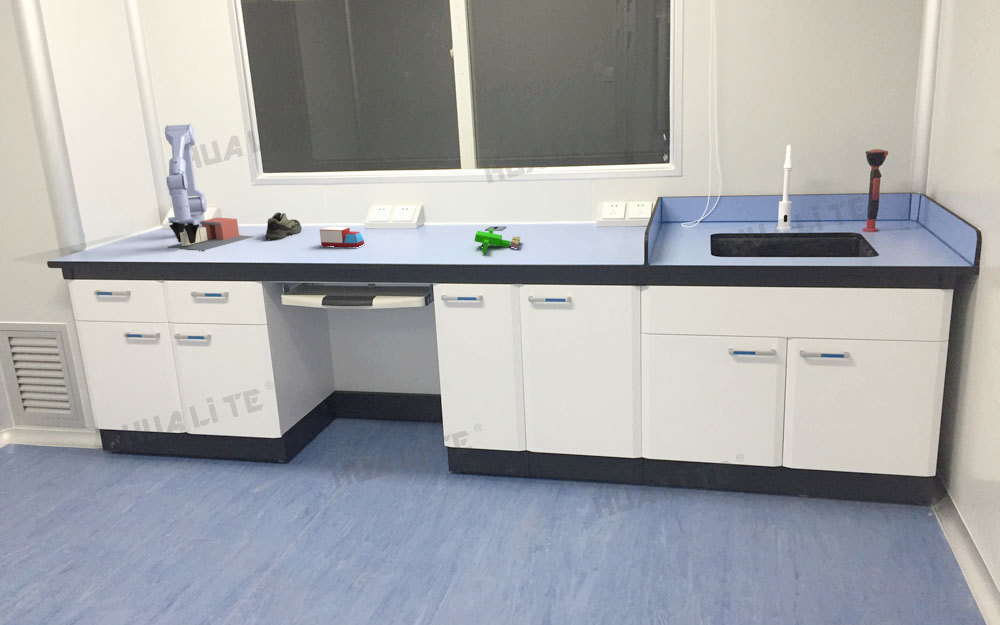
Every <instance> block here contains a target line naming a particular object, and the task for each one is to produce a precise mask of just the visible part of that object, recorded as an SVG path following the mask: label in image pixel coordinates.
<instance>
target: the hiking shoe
mask: <svg viewBox="0 0 1000 625" xmlns="http://www.w3.org/2000/svg"><path fill="white" fill-rule="evenodd" d="M266 223H267V226H266V232H265V233H266V234H265V239H266V240H268V241H280V240H283V239H285V238H286V237H289V235H290V236H295V235H298V234H300V233H301V232H302V226H301V222H300V221H299V220H298V219H288V217H287V216H286V213H285V212H279V211H278V212H275V213H274V214H273V215H272V217H269V218H268V219H267V221H266ZM294 234H295V235H294Z"/></svg>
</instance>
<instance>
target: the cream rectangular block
mask: <svg viewBox="0 0 1000 625" xmlns="http://www.w3.org/2000/svg"><path fill="white" fill-rule="evenodd" d="M180 237H181V242H180V243H182V246H187V245H191V244H190V243H189V240H188V235H187V233H186V231H185V232H181V233H180ZM206 240H208V239H207V232H206V227H202V228H198V229H197V233H196V241H195V243H198V242H202V241H206ZM195 243H192V244H195Z"/></svg>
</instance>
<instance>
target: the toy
mask: <svg viewBox="0 0 1000 625" xmlns="http://www.w3.org/2000/svg"><path fill="white" fill-rule="evenodd" d="M520 241H521V236H519V235H518V236H512V239H511V240H508V239H507V240H506V239H503V234H497V233H494V228H489V231H488V232H487V231H480V230H477V231H476V233H475V237H474V242H476V243H480V244H481V245H480V248H481V247H483V249H481V253H482V254H487V252H488V246H489V245H492V246H497V247H500V246H502V247H507V246H511V247H514V248H518V249H519V246H518V245H520Z"/></svg>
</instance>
